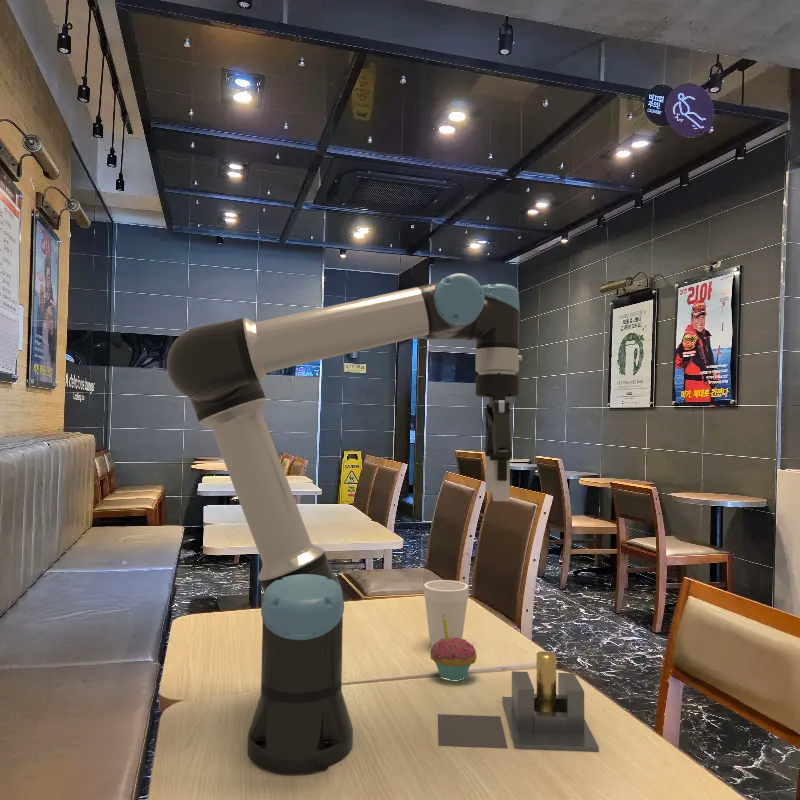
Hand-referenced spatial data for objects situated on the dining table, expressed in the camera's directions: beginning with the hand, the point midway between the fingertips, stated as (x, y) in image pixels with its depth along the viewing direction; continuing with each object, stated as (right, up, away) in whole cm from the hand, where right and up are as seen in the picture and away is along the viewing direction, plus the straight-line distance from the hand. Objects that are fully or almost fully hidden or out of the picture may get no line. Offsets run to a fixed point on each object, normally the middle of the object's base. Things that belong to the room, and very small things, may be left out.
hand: (496, 496), depth 110 cm
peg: (+6, -33, -11) cm, 36 cm away
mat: (-6, -34, -13) cm, 37 cm away
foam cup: (-7, -36, +24) cm, 44 cm away
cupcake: (-7, -35, +8) cm, 37 cm away
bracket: (+6, -34, -11) cm, 37 cm away
